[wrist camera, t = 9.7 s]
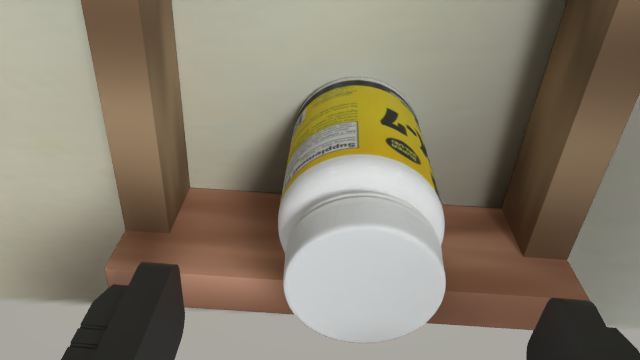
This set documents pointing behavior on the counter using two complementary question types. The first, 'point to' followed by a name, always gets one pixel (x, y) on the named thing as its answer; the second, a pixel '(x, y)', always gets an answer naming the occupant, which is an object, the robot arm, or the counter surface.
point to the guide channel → (460, 221)
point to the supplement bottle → (360, 216)
